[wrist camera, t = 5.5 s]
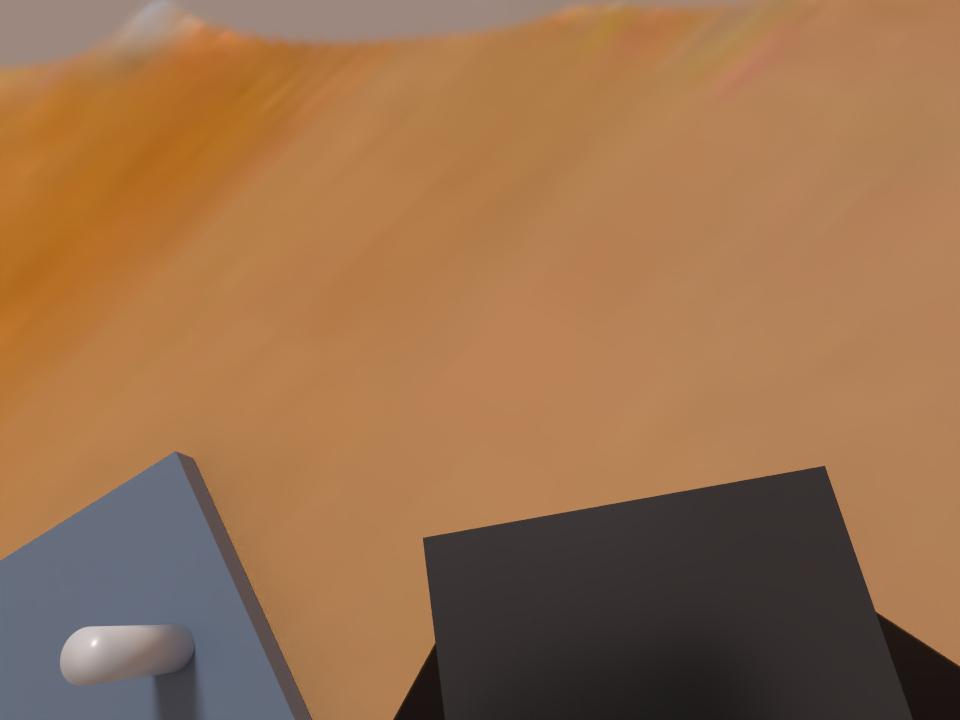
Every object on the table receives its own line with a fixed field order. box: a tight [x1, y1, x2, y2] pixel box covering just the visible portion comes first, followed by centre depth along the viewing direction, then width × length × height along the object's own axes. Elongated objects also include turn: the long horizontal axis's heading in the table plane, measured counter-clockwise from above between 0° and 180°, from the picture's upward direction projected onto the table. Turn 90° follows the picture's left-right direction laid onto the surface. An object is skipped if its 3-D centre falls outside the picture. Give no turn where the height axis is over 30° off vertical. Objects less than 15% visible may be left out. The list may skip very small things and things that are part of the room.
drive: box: [423, 466, 913, 720], centre depth 10 cm, size 4×4×10 cm
